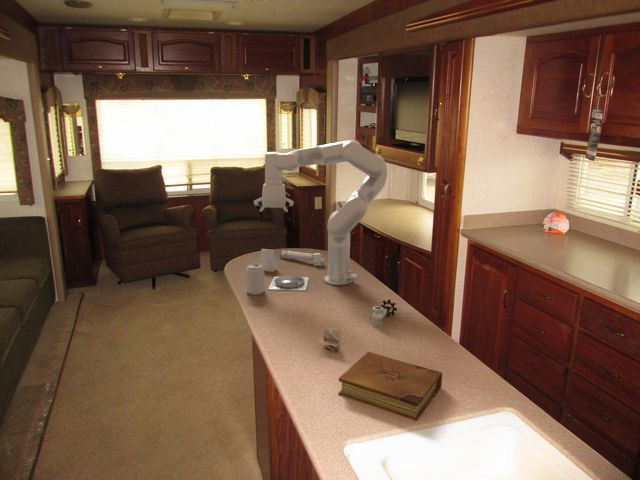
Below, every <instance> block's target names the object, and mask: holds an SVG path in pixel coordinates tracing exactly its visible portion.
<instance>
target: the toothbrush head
mask: <svg viewBox="0 0 640 480" xmlns="http://www.w3.org/2000/svg"><path fill="white" fill-rule="evenodd" d="M279 257H280V259H286V260H291V259H292V260H306V261H307V260H308V261H309V260H310V261H311V263H312V266H314V267H318V266H319V267H321V266H322V267H323V266H324V258H323V257H322V253H320V252H315V253H309V252H301V251H292V250H289V249H288V250H281V251H280V252H279Z"/></svg>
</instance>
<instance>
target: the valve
mask: <svg viewBox="0 0 640 480" xmlns="http://www.w3.org/2000/svg"><path fill="white" fill-rule="evenodd" d="M391 300H392V299H387V301H386V300H383V301H382V304H381V305H380V306H379V305H377V306H374V307H372V315H371V319H372V326H374V327H375V328H376V327H378V328H381V327H382V326H383V325H384V318H385V317H386V316H387V317H390V316H395V315H396V312H397V311H398V307H395V306H396V305H397V304H396V302H392V301H391Z"/></svg>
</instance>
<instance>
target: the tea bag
mask: <svg viewBox="0 0 640 480" xmlns="http://www.w3.org/2000/svg"><path fill="white" fill-rule="evenodd" d="M259 264H262V265H263V266H262V267H263V268H264V272H271V273H273V272H275V271H276V270H277V255H276V253H275V249H267V248H261V251H260V256H259Z"/></svg>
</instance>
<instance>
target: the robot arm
mask: <svg viewBox="0 0 640 480" xmlns="http://www.w3.org/2000/svg"><path fill="white" fill-rule="evenodd" d="M345 162H346V163H349V164H350V165H351V166H353V167H355V169H358V170H359V171H361V172H362V173H364V174H365V175H366V176H365V178H364V180H363V181H361V183H360V185H358V186H357V188H356V189H355V190H354V191H352V192H351V194H350V195H348V196H347V197H346V200H345V202H344V204H343V205H342V206H341V207H340V208H339V209H338V210H335V211H334V212H332V213H331V214H330V216H329V218H328V220H327V227H326V228H327V231H328V234H327V236H328V238H327V239H328V240H327V241H328V242H327V243H328V244H327V245H328V246H327V249H328V250H327V257H328V258H327V275H325V276H324V282H325V283H327V284H329V285H335V286H344V285H349V284H351V283H353V281H358V278H359V277H358V274H355V273H354V274H353V273H352V270H351V269H350V261H351V259H350V256H351V255H350V254H351V253H350V252H351V251H350V247H351V231H352V230H353V229H354V228H355V227H356V226H357V225H358V224H359V223H360V222H361V221H362V219H363V218H364V217H365V216H366V214H367V212H368V207H369V205H371V203H372V202H373V201H374V200H375V199H376V198H377V196H378V195H379V194H380V192H381V191H382V190H383V189H384V187H385V185H386V182H387V179H388V168H387V163H386V161H385V159H384V157H383V156H382V155H380V154H377V153H373V152H371V151H370V150H369V149H367V148H365V147H364V146H362V145H361V143H360V142H359V141H358V140H356V139H348V140H341V141H337V142H332V143H327V144H326V143H325V144H320V145H317V146H312V147H306V148H305V147H304V148H301V149H295V150H291V151H289V152H286V153H282V152H279V151H268V152H266V153H265V155H264V183H263V185H262V192H261V193H262V194H261V197H259V198H257V199H255V200H253V204H254V206H255V208H256V209H257V210H259V214H260V215H259V218H260V219H261V221H262V222H263V221H264V220H265V213H264V211H265V210H264V209H266V208H268V209H270V208H274V209H275V208H276V209H277V208H280V209H281V208H282V209H283V221H284V222H286V220H287V219H288V211H290V210H291V209H292V207H293V205H294V204H295V202H294V200H292V199H290V198H288V197H286V186H285V184H284V182H285V183H286V182H287V179H286V178H284V176H283V175H284V174H283V172H284V171H288V172H293V171H296V170H297V169H298V168H301V167H305V166H312V165H313V166H314V165H320V166H329V165H334V164H340V163H345ZM259 202H261V205H260V204H259ZM286 202H287V203H289V205H288V206H286Z"/></svg>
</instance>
